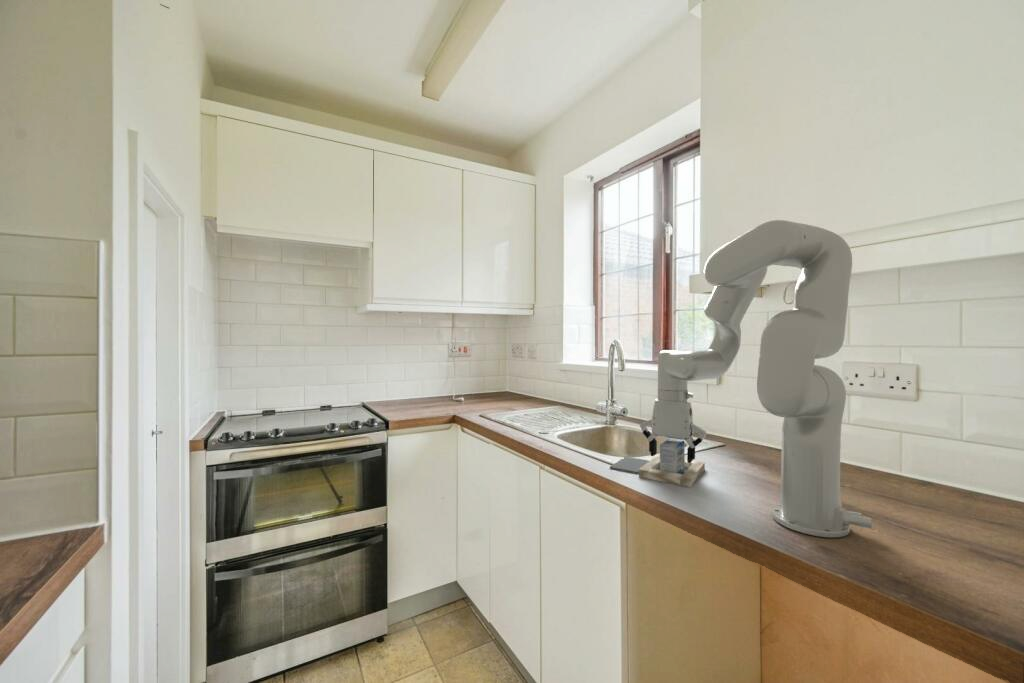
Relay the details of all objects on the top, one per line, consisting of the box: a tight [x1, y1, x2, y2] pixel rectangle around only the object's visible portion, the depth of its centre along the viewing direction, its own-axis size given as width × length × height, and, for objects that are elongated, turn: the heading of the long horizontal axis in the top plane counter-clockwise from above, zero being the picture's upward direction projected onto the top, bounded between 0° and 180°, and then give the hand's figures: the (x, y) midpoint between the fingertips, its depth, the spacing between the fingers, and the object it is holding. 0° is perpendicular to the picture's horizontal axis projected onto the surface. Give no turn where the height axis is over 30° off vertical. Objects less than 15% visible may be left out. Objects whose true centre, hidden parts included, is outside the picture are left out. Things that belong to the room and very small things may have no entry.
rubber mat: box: [609, 456, 650, 475], centre depth 120 cm, size 8×12×1 cm, turn 144°
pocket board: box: [638, 454, 706, 488], centre depth 113 cm, size 13×16×2 cm
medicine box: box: [659, 438, 686, 474], centre depth 113 cm, size 8×4×9 cm, turn 143°
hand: (671, 458), depth 114 cm, fingers open, 9 cm apart
